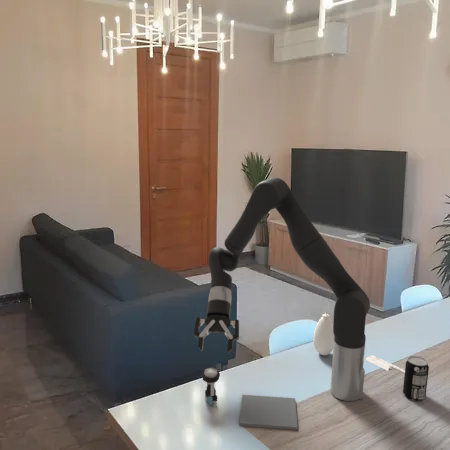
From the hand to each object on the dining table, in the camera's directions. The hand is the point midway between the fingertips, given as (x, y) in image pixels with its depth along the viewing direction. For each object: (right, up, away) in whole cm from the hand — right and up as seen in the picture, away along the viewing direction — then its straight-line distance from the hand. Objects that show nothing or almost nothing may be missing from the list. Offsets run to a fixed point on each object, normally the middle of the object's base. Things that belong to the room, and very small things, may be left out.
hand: (214, 351), depth 145 cm
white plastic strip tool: (+59, -11, +18) cm, 63 cm away
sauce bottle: (+39, -8, +26) cm, 47 cm away
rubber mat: (+16, -15, -10) cm, 24 cm away
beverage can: (+62, -14, 0) cm, 63 cm away
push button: (-1, -14, -5) cm, 15 cm away
